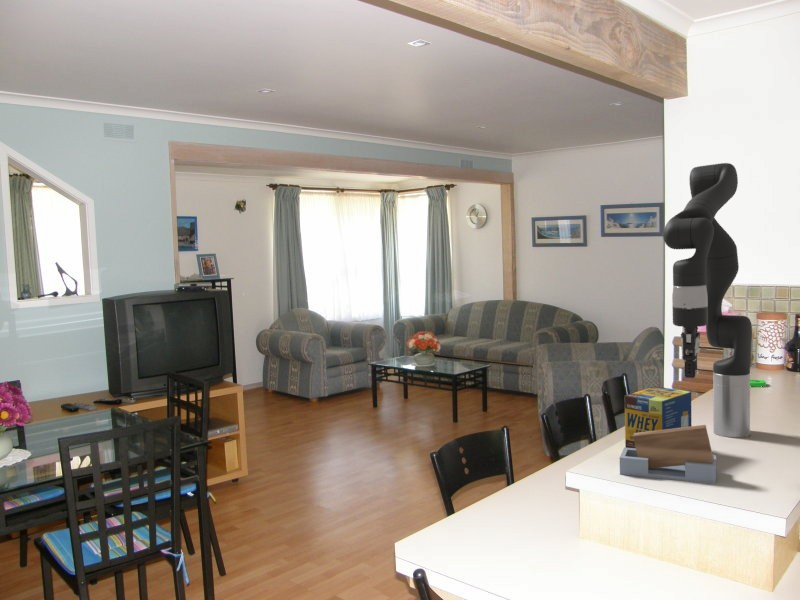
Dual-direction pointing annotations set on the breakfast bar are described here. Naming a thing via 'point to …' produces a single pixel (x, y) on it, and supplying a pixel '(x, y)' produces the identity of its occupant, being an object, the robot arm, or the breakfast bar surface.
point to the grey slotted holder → (667, 469)
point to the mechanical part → (757, 383)
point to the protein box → (656, 411)
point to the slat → (674, 446)
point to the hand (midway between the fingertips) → (691, 373)
